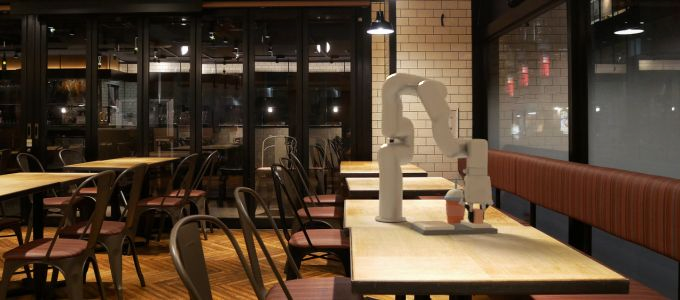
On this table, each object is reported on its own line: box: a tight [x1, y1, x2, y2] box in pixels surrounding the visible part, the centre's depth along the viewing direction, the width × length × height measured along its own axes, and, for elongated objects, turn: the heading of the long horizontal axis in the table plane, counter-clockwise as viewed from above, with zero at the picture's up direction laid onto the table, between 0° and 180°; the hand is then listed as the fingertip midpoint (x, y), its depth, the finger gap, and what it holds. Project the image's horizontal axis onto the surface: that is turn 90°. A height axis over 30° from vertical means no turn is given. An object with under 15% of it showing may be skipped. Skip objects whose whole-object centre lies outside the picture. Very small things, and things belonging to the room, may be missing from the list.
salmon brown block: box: [461, 207, 493, 228], centre depth 224 cm, size 12×7×6 cm, turn 11°
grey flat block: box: [409, 220, 499, 236], centre depth 223 cm, size 15×28×3 cm, turn 101°
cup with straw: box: [443, 177, 466, 224], centre depth 242 cm, size 9×9×18 cm
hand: (476, 221), depth 224 cm, fingers closed on salmon brown block, 3 cm apart
